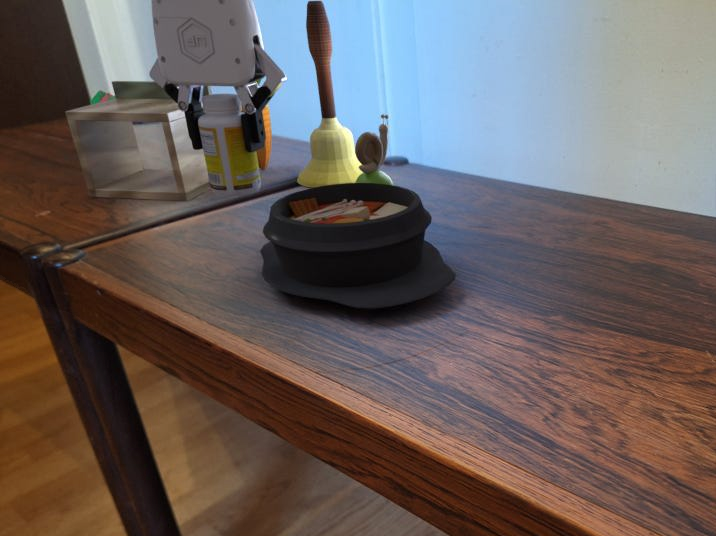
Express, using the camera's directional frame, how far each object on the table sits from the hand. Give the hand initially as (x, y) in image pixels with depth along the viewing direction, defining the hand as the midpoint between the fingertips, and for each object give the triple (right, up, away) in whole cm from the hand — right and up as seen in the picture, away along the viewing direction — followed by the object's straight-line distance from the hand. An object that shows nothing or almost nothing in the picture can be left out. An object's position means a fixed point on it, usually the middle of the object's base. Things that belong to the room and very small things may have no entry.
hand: (229, 146), depth 77 cm
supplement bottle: (0, -4, +2) cm, 5 cm away
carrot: (-8, +8, +39) cm, 40 cm away
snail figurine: (+14, -3, +19) cm, 23 cm away
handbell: (+5, +5, +34) cm, 34 cm away
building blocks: (-52, +30, +79) cm, 100 cm away
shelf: (-21, +3, +30) cm, 37 cm away
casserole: (+15, -15, -3) cm, 21 cm away
